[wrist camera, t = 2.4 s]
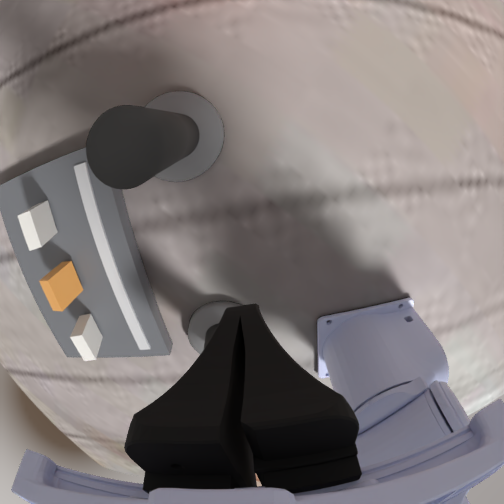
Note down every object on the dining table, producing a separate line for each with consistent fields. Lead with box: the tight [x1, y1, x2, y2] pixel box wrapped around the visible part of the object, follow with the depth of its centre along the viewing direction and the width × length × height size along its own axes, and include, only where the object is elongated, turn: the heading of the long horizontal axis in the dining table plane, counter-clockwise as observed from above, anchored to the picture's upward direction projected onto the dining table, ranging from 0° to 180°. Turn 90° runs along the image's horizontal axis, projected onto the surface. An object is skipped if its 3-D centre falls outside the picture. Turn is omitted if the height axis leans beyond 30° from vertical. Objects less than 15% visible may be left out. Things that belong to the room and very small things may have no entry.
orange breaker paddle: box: [39, 261, 83, 311], centre depth 18 cm, size 1×3×3 cm, turn 9°
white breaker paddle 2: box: [70, 314, 103, 361], centre depth 21 cm, size 1×3×3 cm, turn 9°
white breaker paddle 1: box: [18, 200, 58, 251], centre depth 16 cm, size 1×3×3 cm, turn 8°
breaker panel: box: [0, 147, 173, 357], centre depth 21 cm, size 12×18×2 cm, turn 9°
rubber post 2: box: [188, 301, 242, 354], centre depth 20 cm, size 6×6×10 cm
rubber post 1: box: [86, 91, 224, 189], centre depth 13 cm, size 6×6×10 cm
